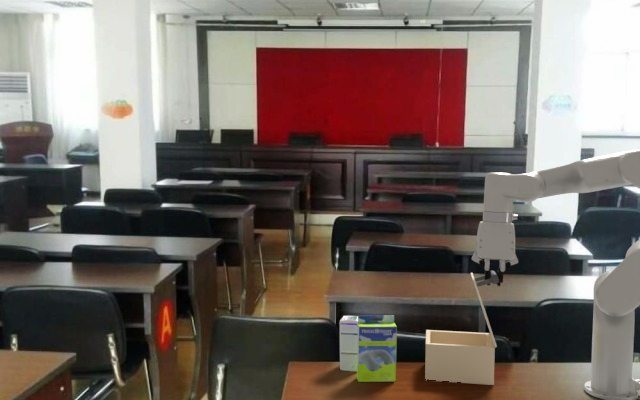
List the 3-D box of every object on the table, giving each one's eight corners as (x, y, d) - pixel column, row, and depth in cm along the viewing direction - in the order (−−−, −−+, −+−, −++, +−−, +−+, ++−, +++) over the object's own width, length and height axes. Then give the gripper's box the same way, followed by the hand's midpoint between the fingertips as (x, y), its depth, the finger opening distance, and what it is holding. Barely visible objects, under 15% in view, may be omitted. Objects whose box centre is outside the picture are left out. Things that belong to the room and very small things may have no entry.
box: (357, 382, 165) (358, 319, 164) (356, 377, 169) (356, 315, 168) (396, 382, 166) (397, 318, 164) (394, 376, 170) (395, 314, 168)
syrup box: (359, 372, 173) (360, 321, 172) (339, 370, 174) (339, 319, 173) (362, 365, 179) (362, 316, 178) (342, 363, 180) (342, 314, 179)
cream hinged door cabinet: (489, 367, 177) (489, 333, 177) (493, 385, 164) (494, 348, 163) (425, 363, 181) (426, 329, 180) (425, 380, 167) (425, 344, 166)
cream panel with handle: (490, 332, 177) (512, 326, 176) (494, 347, 163) (519, 340, 162) (470, 272, 177) (493, 266, 175) (473, 282, 163) (498, 275, 162)
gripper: (525, 218, 170) (521, 284, 171) (466, 215, 172) (462, 280, 174) (530, 221, 162) (525, 289, 164) (467, 217, 165) (464, 285, 167)
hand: (493, 284), depth 169 cm, fingers closed on cream panel with handle, 2 cm apart
